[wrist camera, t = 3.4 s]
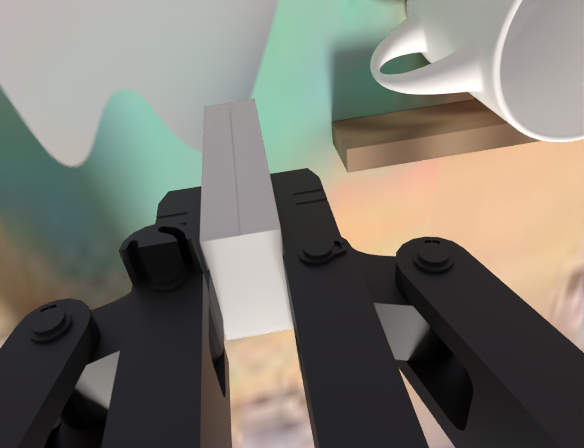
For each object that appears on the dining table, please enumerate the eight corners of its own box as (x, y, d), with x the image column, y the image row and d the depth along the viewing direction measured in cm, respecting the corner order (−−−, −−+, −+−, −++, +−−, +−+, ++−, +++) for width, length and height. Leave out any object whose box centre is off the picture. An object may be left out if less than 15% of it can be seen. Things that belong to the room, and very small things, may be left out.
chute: (333, 143, 31) (356, 189, 26) (317, -146, 22) (347, -157, 17) (620, 97, 32) (694, 133, 27) (713, -195, 23) (846, -218, 19)
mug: (324, -30, 25) (386, 11, 16) (545, -130, 24) (736, -142, 15) (367, 111, 30) (431, 200, 21) (551, 35, 29) (698, 96, 20)
